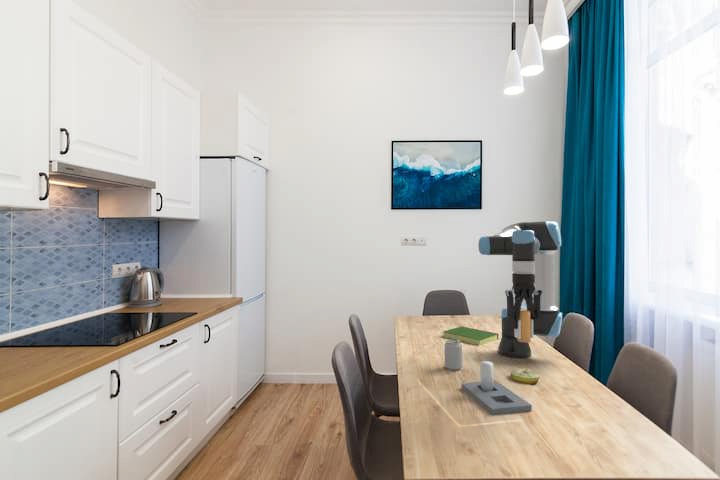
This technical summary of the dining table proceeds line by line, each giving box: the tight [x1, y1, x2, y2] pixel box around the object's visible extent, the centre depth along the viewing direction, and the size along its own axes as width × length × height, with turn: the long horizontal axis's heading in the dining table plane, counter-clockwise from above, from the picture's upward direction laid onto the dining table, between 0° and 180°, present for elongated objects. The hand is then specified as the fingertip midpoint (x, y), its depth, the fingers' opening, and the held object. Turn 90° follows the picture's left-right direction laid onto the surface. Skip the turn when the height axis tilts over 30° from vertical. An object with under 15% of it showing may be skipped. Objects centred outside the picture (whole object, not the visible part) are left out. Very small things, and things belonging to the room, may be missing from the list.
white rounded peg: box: [480, 360, 494, 392], centre depth 138 cm, size 4×4×11 cm
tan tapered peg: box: [517, 309, 532, 343], centre depth 137 cm, size 4×4×11 cm
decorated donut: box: [510, 367, 540, 385], centre depth 152 cm, size 10×11×4 cm
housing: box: [461, 380, 533, 416], centre depth 133 cm, size 22×14×2 cm, turn 10°
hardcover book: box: [442, 326, 499, 346], centre depth 217 cm, size 25×19×4 cm
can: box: [444, 339, 463, 371], centre depth 167 cm, size 8×8×12 cm
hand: (523, 337), depth 137 cm, fingers closed on tan tapered peg, 4 cm apart
